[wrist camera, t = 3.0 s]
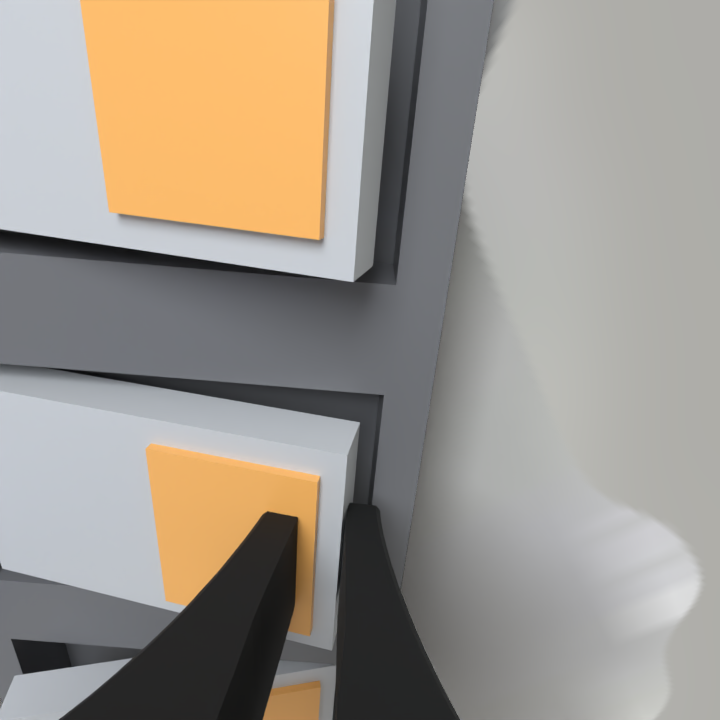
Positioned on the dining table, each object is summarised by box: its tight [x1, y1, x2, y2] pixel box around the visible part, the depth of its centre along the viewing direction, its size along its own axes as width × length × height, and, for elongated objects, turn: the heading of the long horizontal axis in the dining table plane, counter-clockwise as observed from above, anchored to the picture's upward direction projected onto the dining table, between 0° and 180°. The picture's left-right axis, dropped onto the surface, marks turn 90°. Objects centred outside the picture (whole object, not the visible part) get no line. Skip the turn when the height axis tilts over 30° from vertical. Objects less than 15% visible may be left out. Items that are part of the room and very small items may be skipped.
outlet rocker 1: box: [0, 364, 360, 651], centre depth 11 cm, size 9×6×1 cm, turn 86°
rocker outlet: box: [0, 0, 396, 282], centre depth 7 cm, size 9×6×1 cm, turn 86°
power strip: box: [0, 0, 494, 720], centre depth 13 cm, size 12×28×4 cm, turn 176°
